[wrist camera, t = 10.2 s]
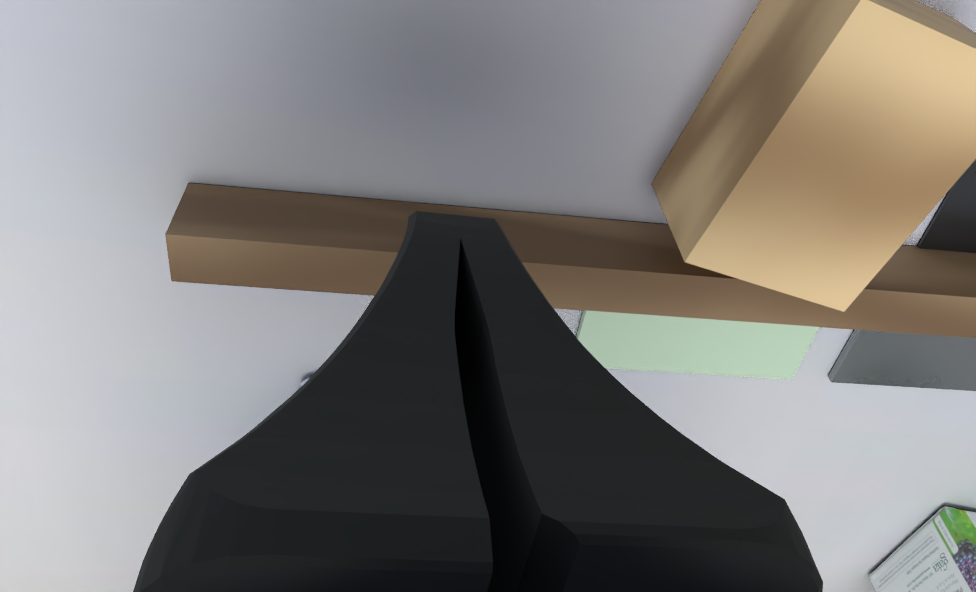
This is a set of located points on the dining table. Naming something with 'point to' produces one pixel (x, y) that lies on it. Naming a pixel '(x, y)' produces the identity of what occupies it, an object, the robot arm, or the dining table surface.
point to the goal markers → (694, 344)
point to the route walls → (539, 262)
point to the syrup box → (933, 557)
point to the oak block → (822, 144)
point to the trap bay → (919, 357)
